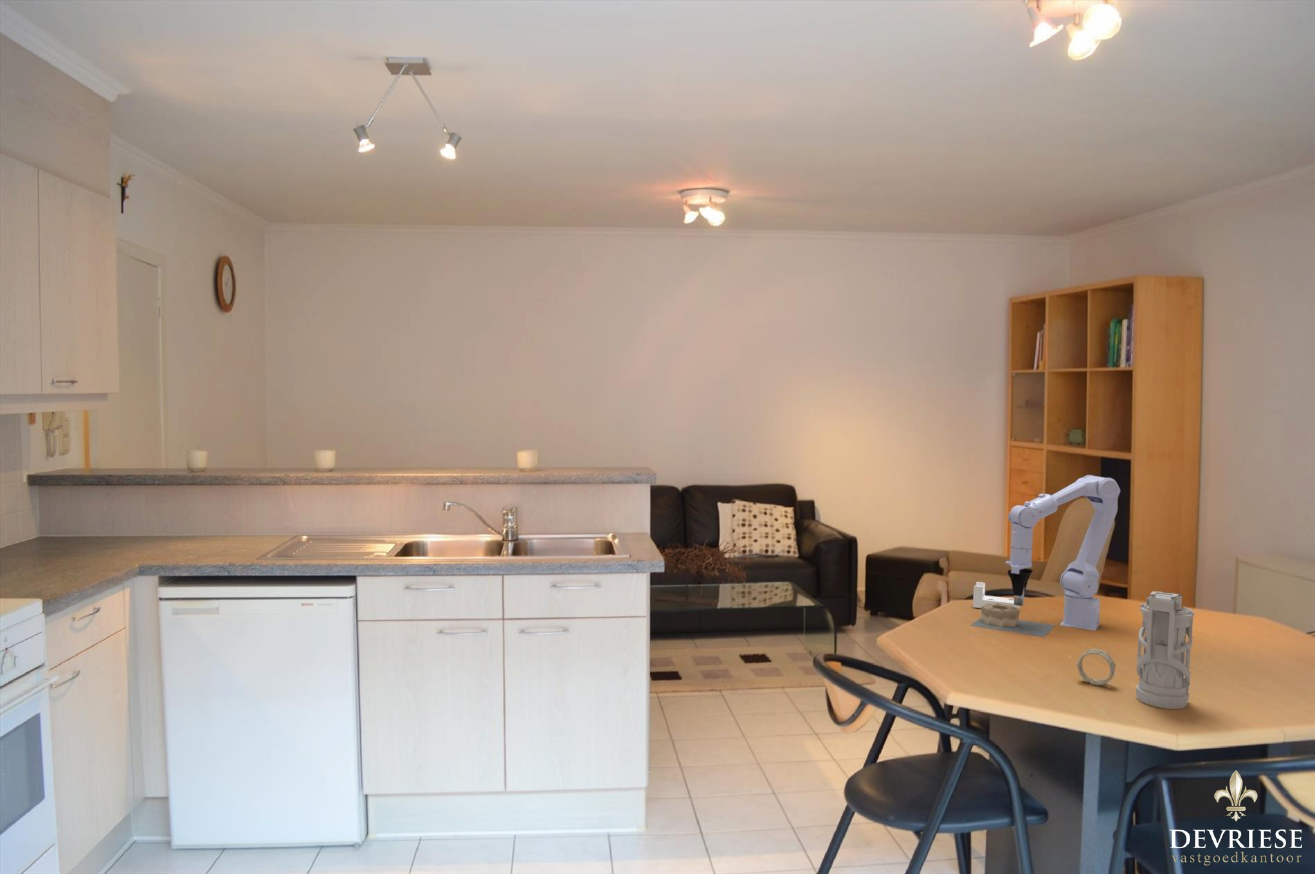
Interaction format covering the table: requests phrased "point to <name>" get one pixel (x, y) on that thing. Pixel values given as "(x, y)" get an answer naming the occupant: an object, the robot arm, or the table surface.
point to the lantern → (1164, 651)
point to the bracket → (988, 597)
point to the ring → (999, 615)
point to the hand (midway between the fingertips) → (1019, 594)
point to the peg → (1019, 600)
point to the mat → (1020, 627)
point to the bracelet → (1105, 656)
